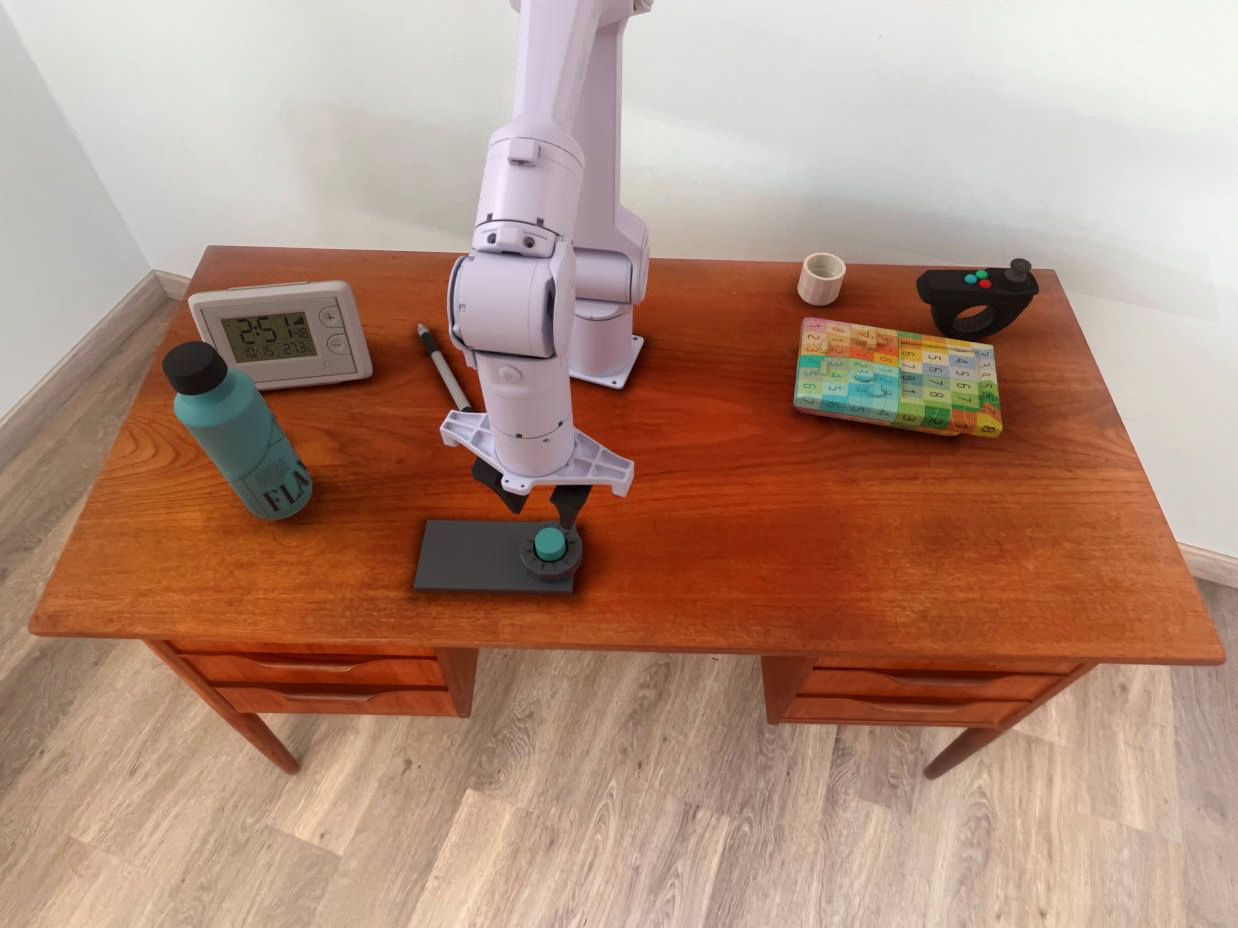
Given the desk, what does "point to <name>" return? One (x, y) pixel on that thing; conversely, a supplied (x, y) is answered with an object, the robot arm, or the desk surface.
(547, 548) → the tare button
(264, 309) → the digital clock
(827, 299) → the white cup
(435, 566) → the grey dial base
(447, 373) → the pen
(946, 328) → the controller
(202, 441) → the beverage bottle
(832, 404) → the puzzle game
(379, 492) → the desk surface
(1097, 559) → the desk surface
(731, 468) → the desk surface
